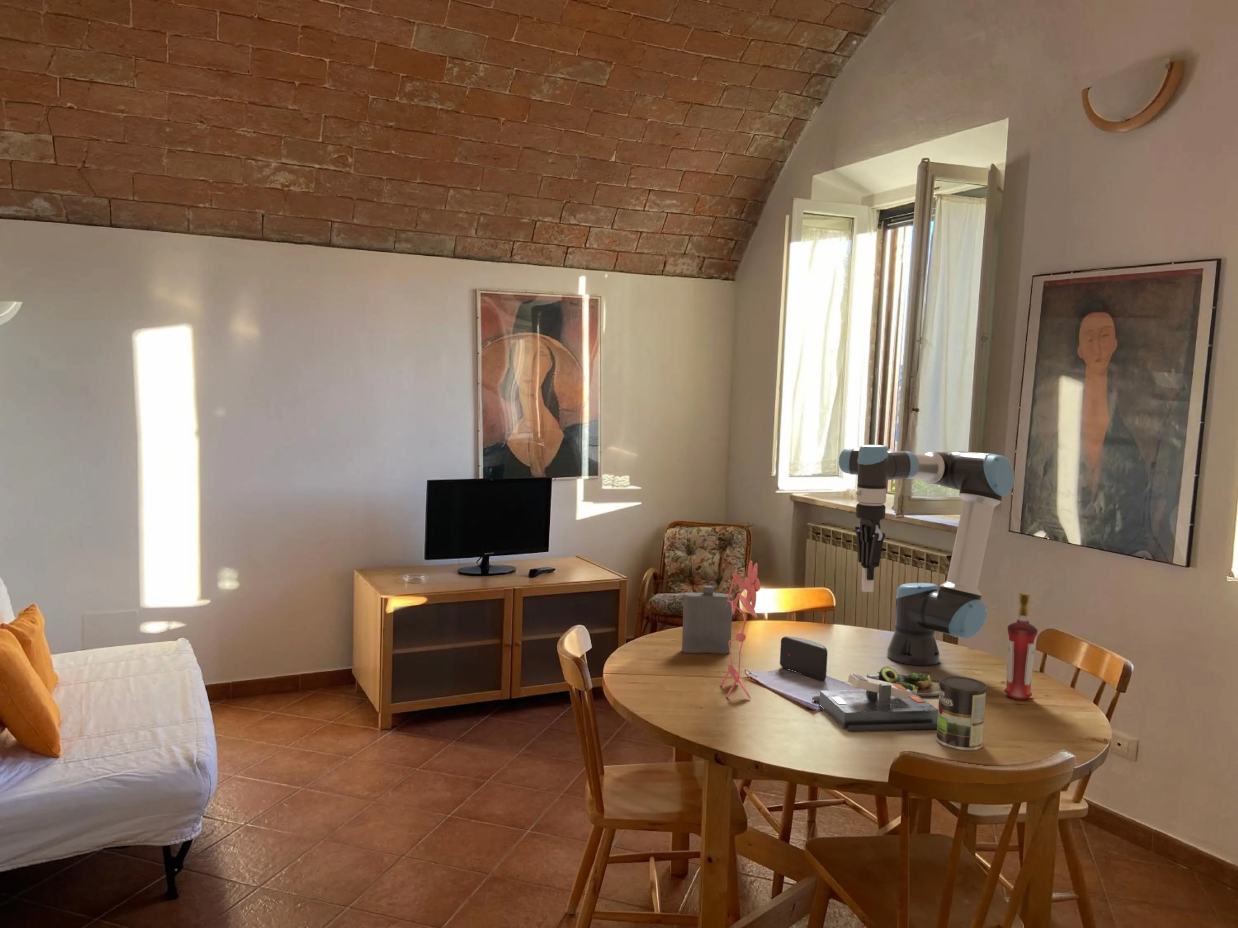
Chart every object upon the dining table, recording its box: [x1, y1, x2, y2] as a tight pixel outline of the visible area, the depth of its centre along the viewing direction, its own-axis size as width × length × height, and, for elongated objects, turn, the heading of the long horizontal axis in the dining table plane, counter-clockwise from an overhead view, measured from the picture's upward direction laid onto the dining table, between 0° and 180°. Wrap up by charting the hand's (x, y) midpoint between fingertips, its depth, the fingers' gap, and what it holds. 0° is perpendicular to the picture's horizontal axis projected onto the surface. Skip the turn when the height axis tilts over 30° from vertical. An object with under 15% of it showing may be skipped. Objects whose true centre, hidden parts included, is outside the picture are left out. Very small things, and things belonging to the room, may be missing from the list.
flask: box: [681, 585, 734, 655], centre depth 282 cm, size 15×6×20 cm, turn 93°
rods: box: [811, 695, 937, 732], centre depth 230 cm, size 24×22×1 cm
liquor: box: [1003, 592, 1039, 701], centre depth 247 cm, size 7×7×28 cm
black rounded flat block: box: [779, 635, 828, 681], centre depth 263 cm, size 16×5×9 cm, turn 39°
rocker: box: [847, 673, 910, 699], centre depth 229 cm, size 14×5×2 cm, turn 99°
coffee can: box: [935, 675, 988, 752], centre depth 213 cm, size 10×10×14 cm
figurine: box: [719, 560, 761, 705], centre depth 244 cm, size 15×26×35 cm, turn 4°
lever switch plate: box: [818, 673, 938, 730], centre depth 229 cm, size 24×16×9 cm, turn 99°
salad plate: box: [876, 666, 940, 698], centre depth 253 cm, size 19×18×5 cm
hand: (867, 591), depth 246 cm, fingers closed
